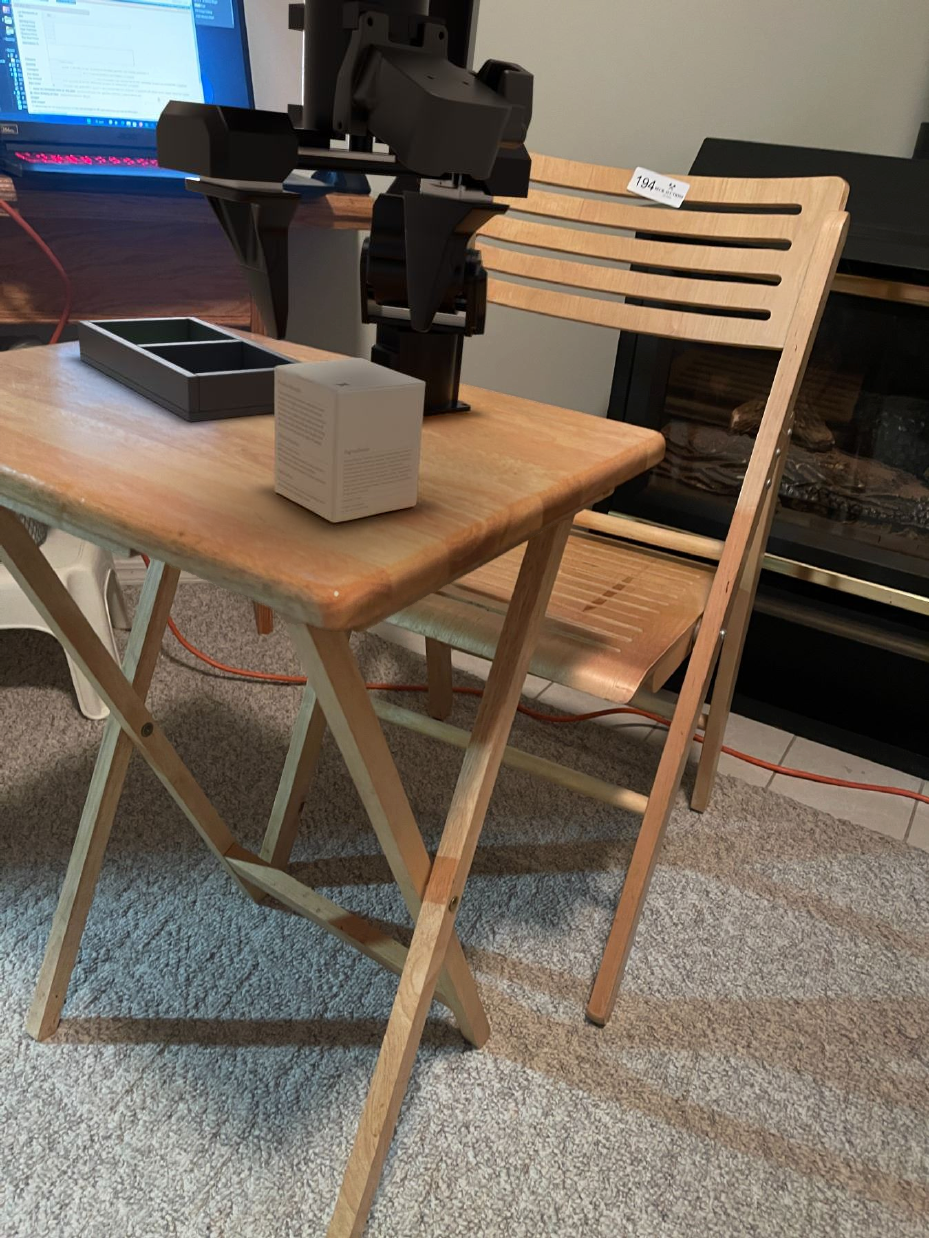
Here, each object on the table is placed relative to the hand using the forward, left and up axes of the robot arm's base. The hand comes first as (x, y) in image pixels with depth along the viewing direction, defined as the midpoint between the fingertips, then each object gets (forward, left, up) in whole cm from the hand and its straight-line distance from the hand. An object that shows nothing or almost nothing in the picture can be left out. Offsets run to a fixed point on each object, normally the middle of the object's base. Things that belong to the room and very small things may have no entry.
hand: (352, 334), depth 50 cm
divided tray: (-4, -27, -9) cm, 29 cm away
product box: (0, 0, -10) cm, 10 cm away
